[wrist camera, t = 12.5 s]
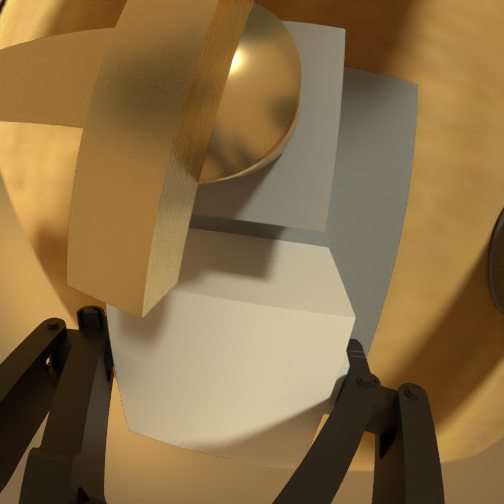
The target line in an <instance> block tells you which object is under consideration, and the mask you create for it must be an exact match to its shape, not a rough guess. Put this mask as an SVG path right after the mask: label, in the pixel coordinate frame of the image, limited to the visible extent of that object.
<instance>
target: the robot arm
mask: <svg viewBox="0 0 504 504" xmlns="http://www.w3.org/2000/svg"><path fill="white" fill-rule="evenodd" d="M77 318H78V324H79V330H74V329H66V324H65V321H64V320H62V319H59V318H50V319H47V320H45V321H43V322H42V323H41V324H40V325H39V326H38V327H37V328H36V329H35V330H34V331H33V332H32V333H31V334H30V335H29V336H28V337H27V338H26V339H25V340H24V341H23V342H22V343H21V344H20V345H19V346H18V347H17V348H16V349H15V350H14V351H13V352H12V353H11V354H10V355H9V356H8V357H7V358H6V359H5V360H4V361H3V362H2V363H1V364H0V493H1V491H2V490H3V489H4V487H5V486H6V485H7V483H8V481H9V480H10V478H11V476H12V475H13V473H14V471H15V469H16V467H17V465H18V463H19V462H20V460H21V458H22V456H23V454H24V453H25V451H26V449H27V447H28V446H29V444H30V442H31V440H32V438H33V437H34V435H35V434H36V432H37V430H38V429H39V427H40V425H41V424H42V422H43V420H44V419H45V417H46V415H47V414H48V412H49V411H50V412H49V416H48V419H47V423H46V427H45V430H44V434H43V438H42V442H41V445H40V447H39V448H32V449H31V450H30V452H29V455H28V459H27V463H26V467H25V473H24V477H23V482H22V487H21V493H20V500H19V504H107V503H106V500H105V496H104V469H105V451H106V437H107V425H108V416H109V407H110V399H111V391H112V384H113V377H114V372H113V366H114V361H113V355H112V349H111V343H110V336H109V329H108V321H107V316H106V317H105V314H104V310H103V309H102V308H100V307H98V306H86V307H82V308H80V309H79V310H78V311H77ZM365 357H366V356H365V353H364V350H363V347H362V344H361V343H360V342H359V341H358V340H357V339H352V338H350V339H349V342H348V345H347V349H346V352H345V355H344V358H343V361H342V364H341V367H340V370H339V373H338V376H337V379H336V382H335V385H334V387H333V390H332V393H331V396H330V398H329V401H328V404H327V406H326V409H325V412H324V414H330V415H329V417H328V419H327V421H326V423H325V424H324V426H323V428H322V429H321V431H320V433H319V435H318V436H317V438H316V440H315V441H314V443H313V444H312V446H311V448H310V449H309V451H308V452H307V454H306V456H305V457H304V459H303V460H302V462H301V463H300V465H299V466H298V468H297V469H296V471H295V472H294V474H293V475H292V477H291V478H290V480H289V481H288V483H287V484H286V485H285V487H284V488H283V490H282V491H281V493H280V494H279V495H278V497H277V498H276V499H275V501H274V502H273V503H272V504H331V502H332V500H333V498H334V496H335V495H336V493H337V491H338V489H339V487H340V485H341V483H342V481H343V479H344V477H345V474H346V472H347V470H348V468H349V466H350V464H351V461H352V459H353V457H354V455H355V452H356V450H357V448H358V445H359V443H360V440H361V438H362V436H363V433H364V431H367V432H371V433H374V434H375V467H374V484H373V497H372V504H445V502H444V490H443V481H442V473H441V465H440V458H439V452H438V446H437V440H436V435H435V429H434V424H433V419H432V415H431V410H430V405H429V401H428V397H427V394H426V392H425V390H424V389H423V388H422V387H420V386H418V385H416V384H412V383H405V384H402V385H401V386H400V387H399V388H398V391H397V390H393V389H389V388H386V387H383V386H381V385H380V381H379V379H378V378H377V377H376V376H375V375H374V374H371V372H370V369H369V366H368V363H367V359H366V358H365ZM48 358H49V363H48V364H46V360H47V359H48Z"/></svg>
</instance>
